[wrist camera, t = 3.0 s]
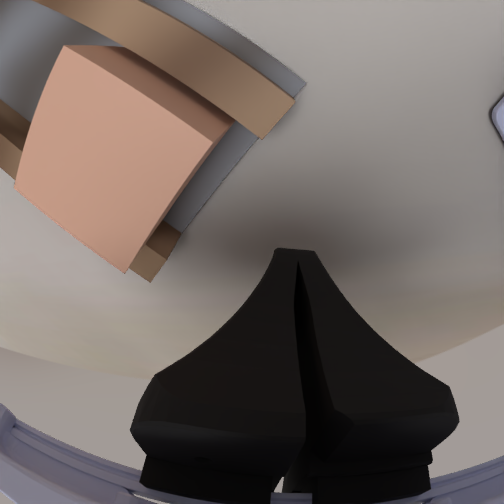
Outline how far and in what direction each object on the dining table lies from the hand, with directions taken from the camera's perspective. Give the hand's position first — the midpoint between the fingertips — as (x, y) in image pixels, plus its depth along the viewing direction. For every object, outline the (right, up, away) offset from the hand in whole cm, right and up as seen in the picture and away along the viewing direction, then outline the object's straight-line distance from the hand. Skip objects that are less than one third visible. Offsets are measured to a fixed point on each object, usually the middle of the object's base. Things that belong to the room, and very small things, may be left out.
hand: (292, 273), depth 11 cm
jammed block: (-5, +6, 0) cm, 8 cm away
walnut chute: (-10, +9, -1) cm, 13 cm away
